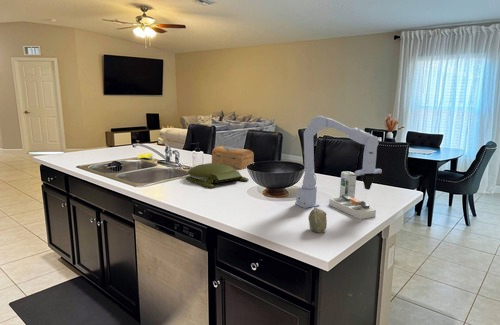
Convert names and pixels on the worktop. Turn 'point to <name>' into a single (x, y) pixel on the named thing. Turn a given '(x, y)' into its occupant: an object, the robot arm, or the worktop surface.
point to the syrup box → (348, 184)
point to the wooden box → (232, 157)
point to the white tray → (352, 208)
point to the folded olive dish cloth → (213, 174)
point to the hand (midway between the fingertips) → (367, 189)
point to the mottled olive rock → (317, 220)
